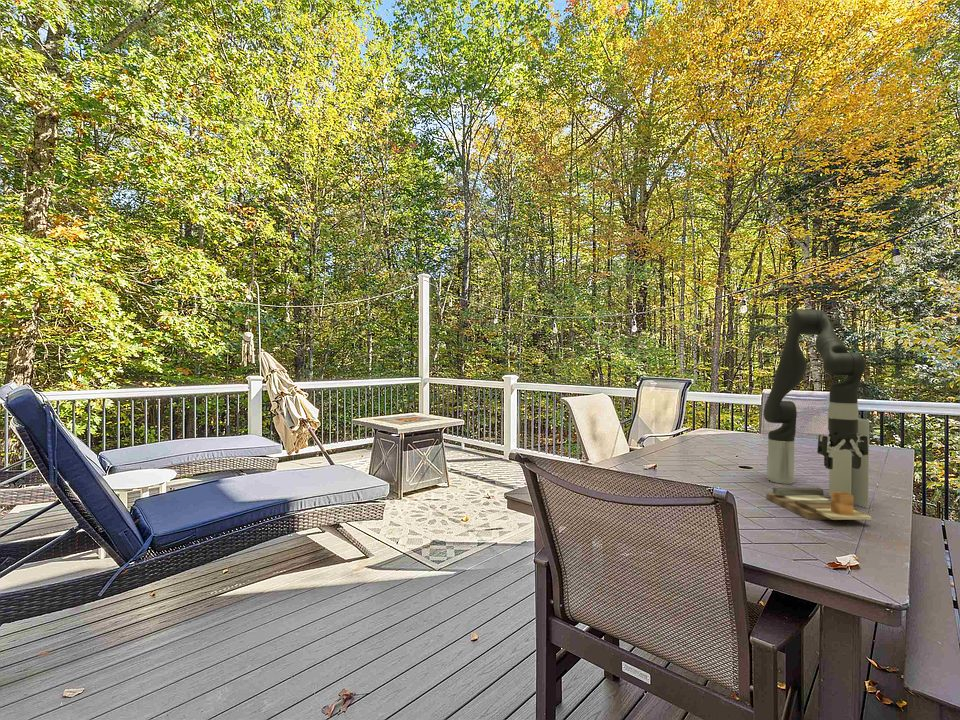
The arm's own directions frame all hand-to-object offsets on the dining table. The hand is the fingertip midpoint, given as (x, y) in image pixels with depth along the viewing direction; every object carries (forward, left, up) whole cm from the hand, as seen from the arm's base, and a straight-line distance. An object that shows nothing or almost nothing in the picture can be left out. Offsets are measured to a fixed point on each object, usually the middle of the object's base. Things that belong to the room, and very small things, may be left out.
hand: (842, 468), depth 151 cm
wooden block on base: (0, 0, -15) cm, 15 cm away
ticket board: (-13, 0, -17) cm, 21 cm away
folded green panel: (-20, +18, -17) cm, 32 cm away
